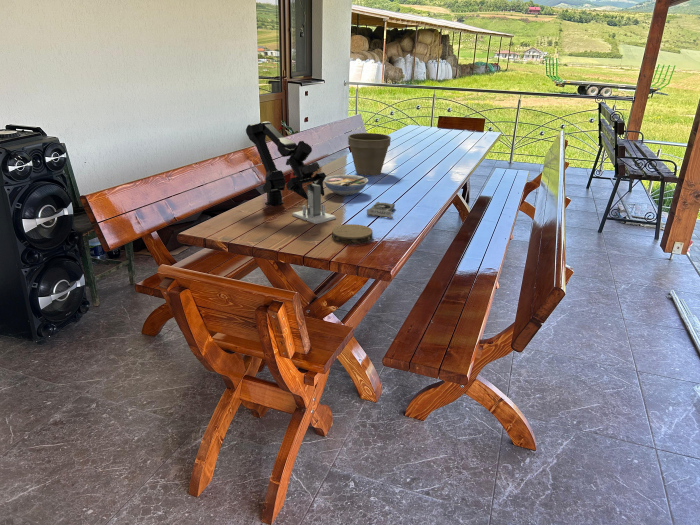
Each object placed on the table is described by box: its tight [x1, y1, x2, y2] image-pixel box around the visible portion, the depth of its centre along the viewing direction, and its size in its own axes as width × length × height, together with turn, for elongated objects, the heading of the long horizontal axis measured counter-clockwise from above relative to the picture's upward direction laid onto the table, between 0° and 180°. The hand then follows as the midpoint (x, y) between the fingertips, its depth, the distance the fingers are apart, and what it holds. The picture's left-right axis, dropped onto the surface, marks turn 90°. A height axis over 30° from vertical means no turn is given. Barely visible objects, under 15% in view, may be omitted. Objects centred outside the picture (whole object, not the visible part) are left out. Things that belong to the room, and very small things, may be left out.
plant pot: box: [347, 132, 392, 176], centre depth 307 cm, size 25×25×22 cm
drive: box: [306, 183, 322, 217], centre depth 226 cm, size 5×4×13 cm
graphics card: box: [366, 201, 396, 219], centre depth 236 cm, size 17×4×12 cm
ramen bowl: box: [323, 174, 370, 197], centre depth 264 cm, size 25×23×8 cm
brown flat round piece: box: [331, 223, 373, 245], centre depth 205 cm, size 16×16×3 cm
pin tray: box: [292, 204, 336, 225], centre depth 228 cm, size 16×11×5 cm
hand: (315, 197), depth 224 cm, fingers open, 9 cm apart
